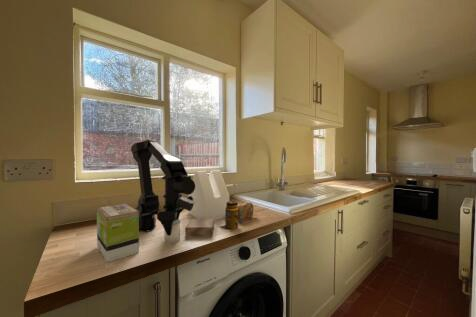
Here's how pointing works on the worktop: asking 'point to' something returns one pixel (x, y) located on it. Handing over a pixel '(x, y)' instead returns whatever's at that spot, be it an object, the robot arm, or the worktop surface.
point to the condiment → (231, 217)
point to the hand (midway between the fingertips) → (172, 230)
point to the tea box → (117, 231)
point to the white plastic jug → (209, 195)
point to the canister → (173, 233)
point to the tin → (245, 212)
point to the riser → (199, 228)
